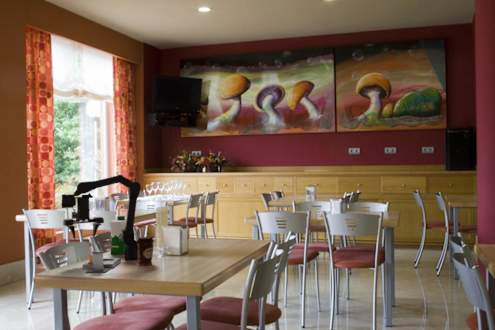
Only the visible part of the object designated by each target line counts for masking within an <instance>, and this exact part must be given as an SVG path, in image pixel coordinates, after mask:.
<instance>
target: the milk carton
mask: <svg viewBox="0 0 495 330" xmlns="http://www.w3.org/2000/svg"><path fill="white" fill-rule="evenodd" d="M108 223H109V227H110V255H119V256H122V255H125V253H124V250H126V249H125V247H127V246H126V244H125V243H124V242H123V241H122V238H121V237H120V236H121V234H122V232H121V229H124V228H125V226H126V215H118V216H117V219H114V220H110V221H108Z"/></svg>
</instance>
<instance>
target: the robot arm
mask: <svg viewBox="0 0 495 330" xmlns="http://www.w3.org/2000/svg"><path fill="white" fill-rule="evenodd" d="M115 184H121V185H123V186H124V187H125V188H127V194H128V204H127V213H126V218H125V220H126V226H125V228H124V229H121V232H122V234H121V236H120V237H121V238H122V241H123V242H124V243H125V244H126V246H127V247H125V249H126V250H124V253H125V254H124V260H125V261H126V260H128V261H133V260H135V261H136V260H139V258H138V246H137V243H136V241H137V240H136V239H135V229H134V226H135V216H136V208H137V201H138V198H139V195H140V192H141V189H142V186H141V184H140V182H138V181H132V180H131V179H128V178H127V177H125V176H124V175H123V174H117V175H114V176H110V177H106V178H105V177H104V178H102V179H98V180H93V181H92V180H89V181H81V182H79V183H78V184H77V185H76V189H75V191H73V193H72V194H71V193H70V194H65V193H63V194H61V209H69V208H70V209H74V207H75V206H76V207H77V208H76V211H71V218H64V219H63V222H62V224H63V226H65V227H67V228H68V229H69V230H70V232H71V235H72V237H73V239H74V241H75V240H76V230H75V229H76V228H75V225H76V224H90V223H92V227H93V228H92V238H93V239H94V238H95V237H96V234H97V231H98V229H99V227H100V226H102V224H104V223H105V219H104V217H103V216H94V217H93V218H91V217H90V199H92V198H94V196H93V195H92V194H91V193H90V192H92V191H95V190H96V189H100V188H103V187H106V186H110V185H115ZM80 195H81V196H80Z"/></svg>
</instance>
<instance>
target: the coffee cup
mask: <svg viewBox="0 0 495 330" xmlns="http://www.w3.org/2000/svg"><path fill="white" fill-rule="evenodd" d="M154 241H155V240H154V237H153V236H140V237H138V238H137V240H136V243H137V246H138V258H139V259H138V265H139V266H150V265H153V261H152V260H153V254H154Z"/></svg>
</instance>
